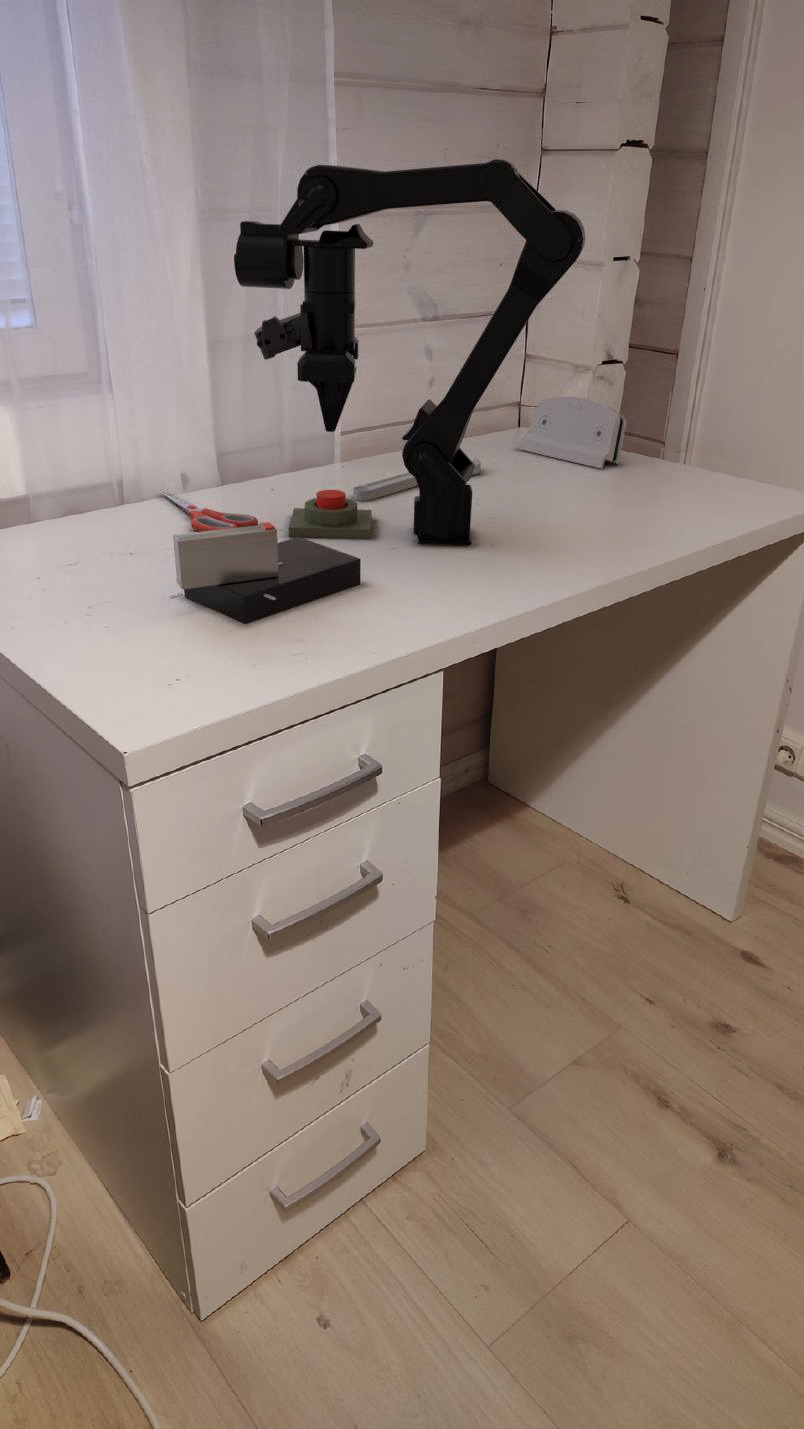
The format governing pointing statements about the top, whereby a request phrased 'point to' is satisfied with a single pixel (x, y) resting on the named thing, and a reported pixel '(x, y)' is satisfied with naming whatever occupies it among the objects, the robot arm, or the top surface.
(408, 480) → the adjustable wrench
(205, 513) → the scissors
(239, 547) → the silver metal slab
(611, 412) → the grey mounting bracket
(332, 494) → the release button
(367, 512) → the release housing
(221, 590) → the black flat block
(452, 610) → the top surface
